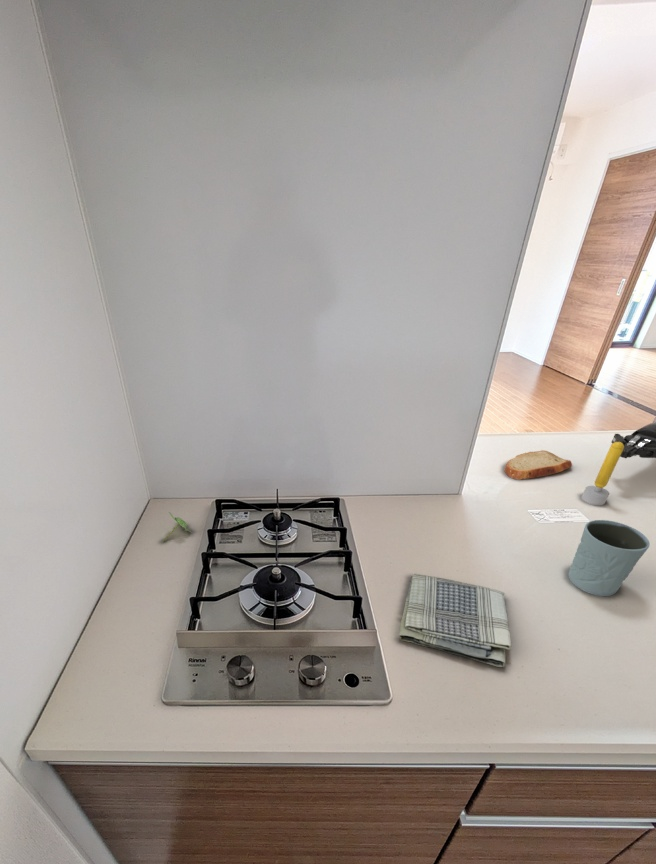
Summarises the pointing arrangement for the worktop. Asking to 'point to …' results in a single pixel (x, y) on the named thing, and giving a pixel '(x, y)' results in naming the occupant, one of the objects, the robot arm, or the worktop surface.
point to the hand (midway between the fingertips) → (623, 454)
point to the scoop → (603, 477)
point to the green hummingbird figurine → (179, 521)
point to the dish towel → (456, 619)
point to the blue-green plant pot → (606, 556)
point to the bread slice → (535, 465)
